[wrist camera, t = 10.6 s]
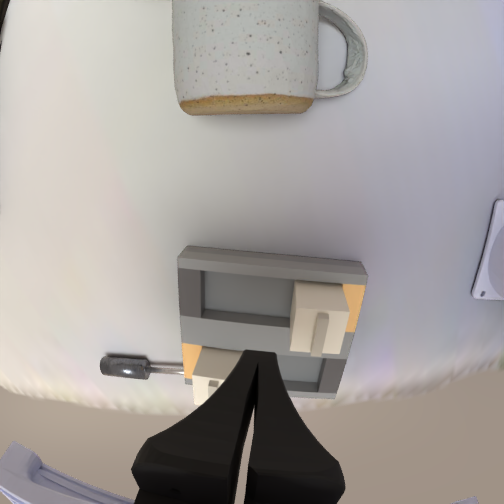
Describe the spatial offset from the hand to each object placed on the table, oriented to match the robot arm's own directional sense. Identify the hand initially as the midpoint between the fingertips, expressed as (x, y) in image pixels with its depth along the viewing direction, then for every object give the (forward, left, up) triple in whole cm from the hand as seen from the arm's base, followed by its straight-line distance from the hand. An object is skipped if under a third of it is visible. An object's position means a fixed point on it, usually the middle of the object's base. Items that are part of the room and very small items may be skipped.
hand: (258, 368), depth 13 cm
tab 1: (+3, +7, -9) cm, 11 cm away
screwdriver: (+10, +10, -10) cm, 17 cm away
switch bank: (0, +4, -10) cm, 11 cm away
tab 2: (-3, +1, -9) cm, 9 cm away
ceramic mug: (+1, -15, -10) cm, 18 cm away
